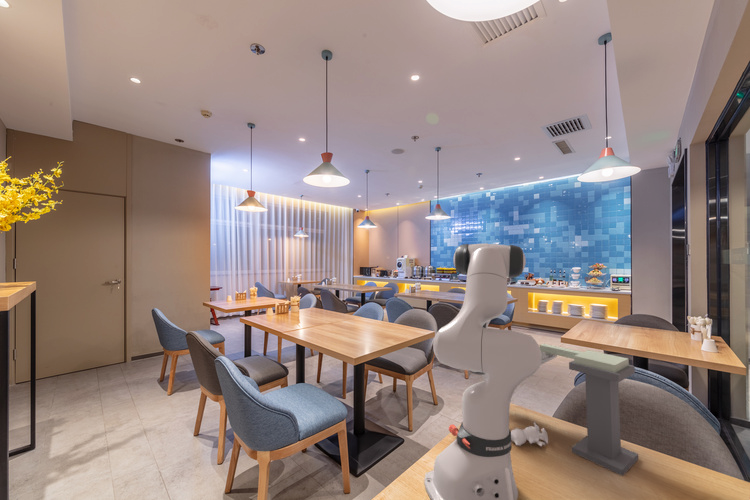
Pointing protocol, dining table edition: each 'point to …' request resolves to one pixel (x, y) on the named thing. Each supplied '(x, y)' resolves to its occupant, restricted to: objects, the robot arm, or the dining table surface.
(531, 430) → the toy figure
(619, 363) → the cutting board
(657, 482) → the dining table surface
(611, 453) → the stand
